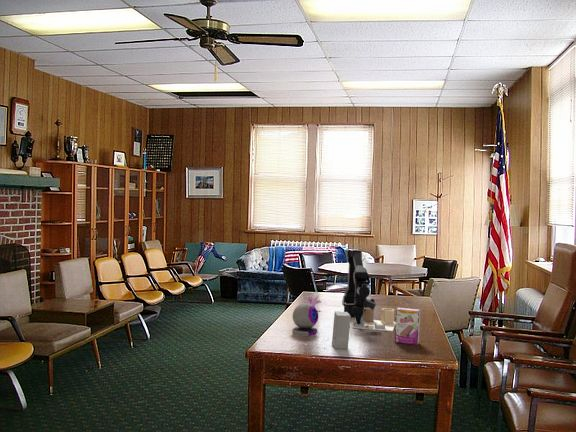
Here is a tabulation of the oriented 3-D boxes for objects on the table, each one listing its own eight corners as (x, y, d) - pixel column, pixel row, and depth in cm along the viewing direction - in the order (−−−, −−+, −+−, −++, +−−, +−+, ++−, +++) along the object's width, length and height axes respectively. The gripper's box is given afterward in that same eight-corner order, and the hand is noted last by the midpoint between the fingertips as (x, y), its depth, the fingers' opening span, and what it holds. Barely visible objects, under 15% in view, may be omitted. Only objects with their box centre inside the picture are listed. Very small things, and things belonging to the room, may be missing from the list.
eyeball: (309, 337, 291) (310, 306, 290) (287, 333, 298) (288, 303, 297) (322, 332, 302) (322, 303, 301) (300, 328, 309) (301, 300, 308)
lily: (324, 312, 360) (320, 297, 364) (321, 307, 349) (317, 292, 353) (305, 317, 361) (302, 302, 365) (302, 313, 350) (298, 297, 354)
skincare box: (331, 344, 278) (332, 310, 277) (346, 344, 278) (347, 311, 278) (334, 349, 269) (335, 314, 269) (349, 349, 270) (351, 314, 269)
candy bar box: (394, 342, 284) (395, 309, 284) (396, 340, 289) (397, 307, 288) (418, 345, 281) (419, 311, 280) (419, 343, 285) (420, 309, 285)
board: (352, 328, 313) (353, 313, 313) (358, 319, 334) (359, 305, 334) (392, 331, 308) (393, 316, 308) (396, 323, 329) (396, 308, 329)
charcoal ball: (363, 315, 328) (363, 310, 326) (364, 310, 332) (364, 305, 329) (370, 316, 327) (370, 311, 325) (371, 311, 331) (371, 306, 328)
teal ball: (355, 324, 314) (355, 316, 314) (356, 322, 318) (356, 315, 318) (362, 324, 313) (362, 317, 313) (363, 323, 317) (363, 315, 317)
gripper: (373, 298, 304) (372, 328, 304) (377, 292, 322) (376, 321, 322) (351, 296, 306) (350, 326, 307) (357, 291, 324) (356, 319, 325)
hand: (359, 323), depth 315 cm, fingers closed on teal ball, 4 cm apart
